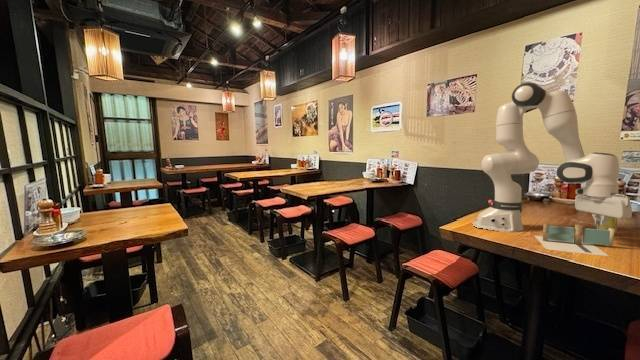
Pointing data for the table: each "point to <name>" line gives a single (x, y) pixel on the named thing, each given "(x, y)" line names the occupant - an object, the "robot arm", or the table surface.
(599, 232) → the hinged panel
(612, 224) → the sauce bottle
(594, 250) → the card
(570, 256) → the table surface
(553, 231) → the fixed fence
